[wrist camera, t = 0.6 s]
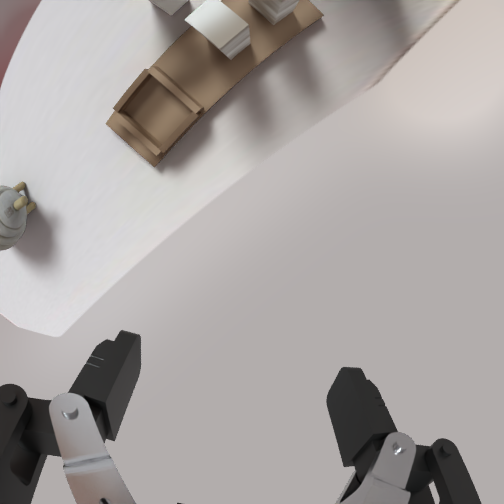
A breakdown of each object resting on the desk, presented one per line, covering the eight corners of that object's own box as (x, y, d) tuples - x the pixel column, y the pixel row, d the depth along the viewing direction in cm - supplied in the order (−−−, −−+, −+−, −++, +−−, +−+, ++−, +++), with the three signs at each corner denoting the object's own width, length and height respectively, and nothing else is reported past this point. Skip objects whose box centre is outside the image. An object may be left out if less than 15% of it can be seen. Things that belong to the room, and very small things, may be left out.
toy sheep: (-11, 198, 37) (-48, 227, 27) (30, 152, 33) (-16, 178, 24) (14, 241, 42) (-18, 275, 33) (60, 206, 38) (20, 242, 29)
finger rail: (110, 121, 32) (56, 144, 21) (268, -30, 21) (274, -75, 11) (157, 163, 35) (119, 202, 25) (321, 17, 25) (353, -10, 14)
